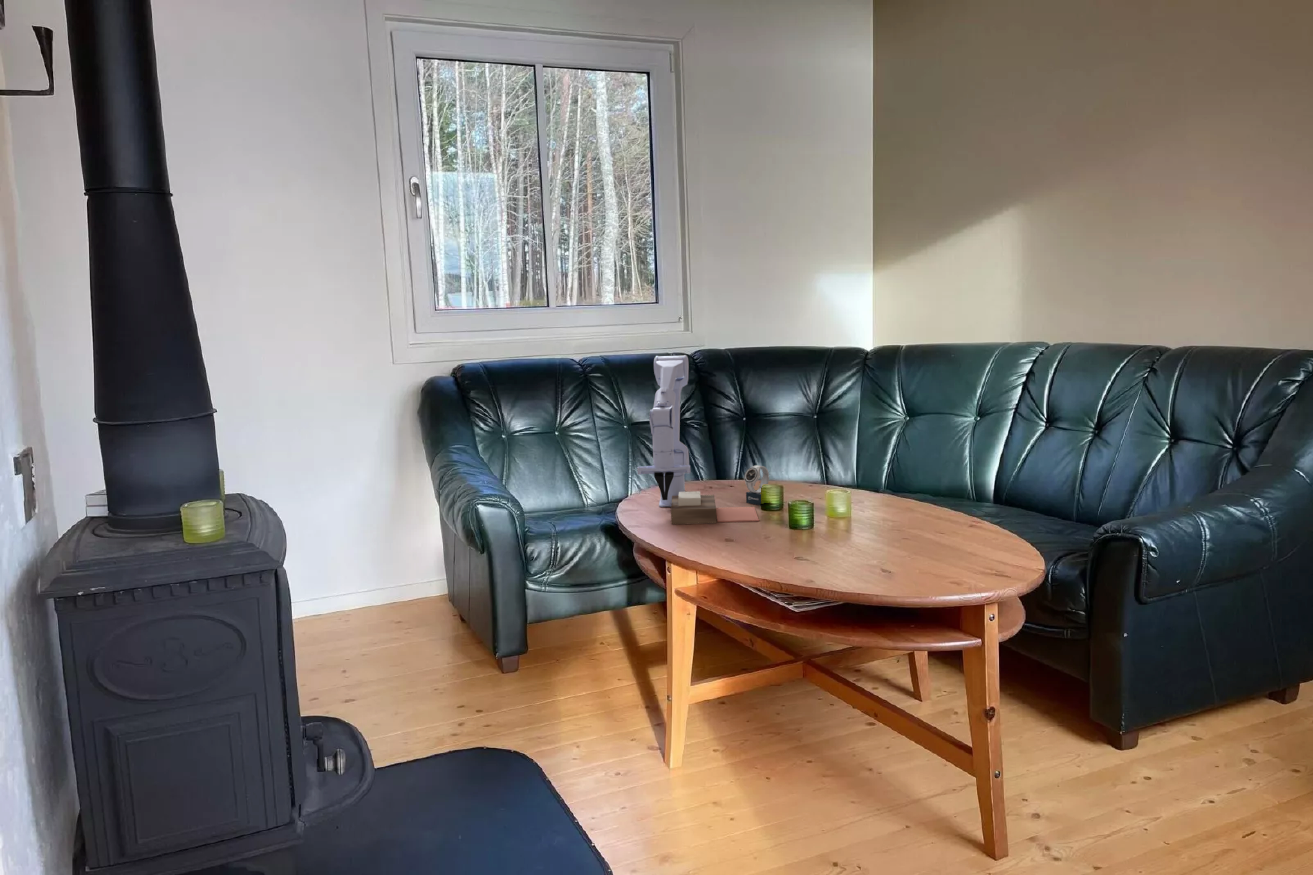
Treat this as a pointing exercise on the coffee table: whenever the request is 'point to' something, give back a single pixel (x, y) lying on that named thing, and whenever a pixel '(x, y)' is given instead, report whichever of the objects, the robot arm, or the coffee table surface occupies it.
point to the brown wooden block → (694, 511)
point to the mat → (736, 514)
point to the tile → (689, 498)
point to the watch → (751, 479)
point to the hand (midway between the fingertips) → (664, 499)
